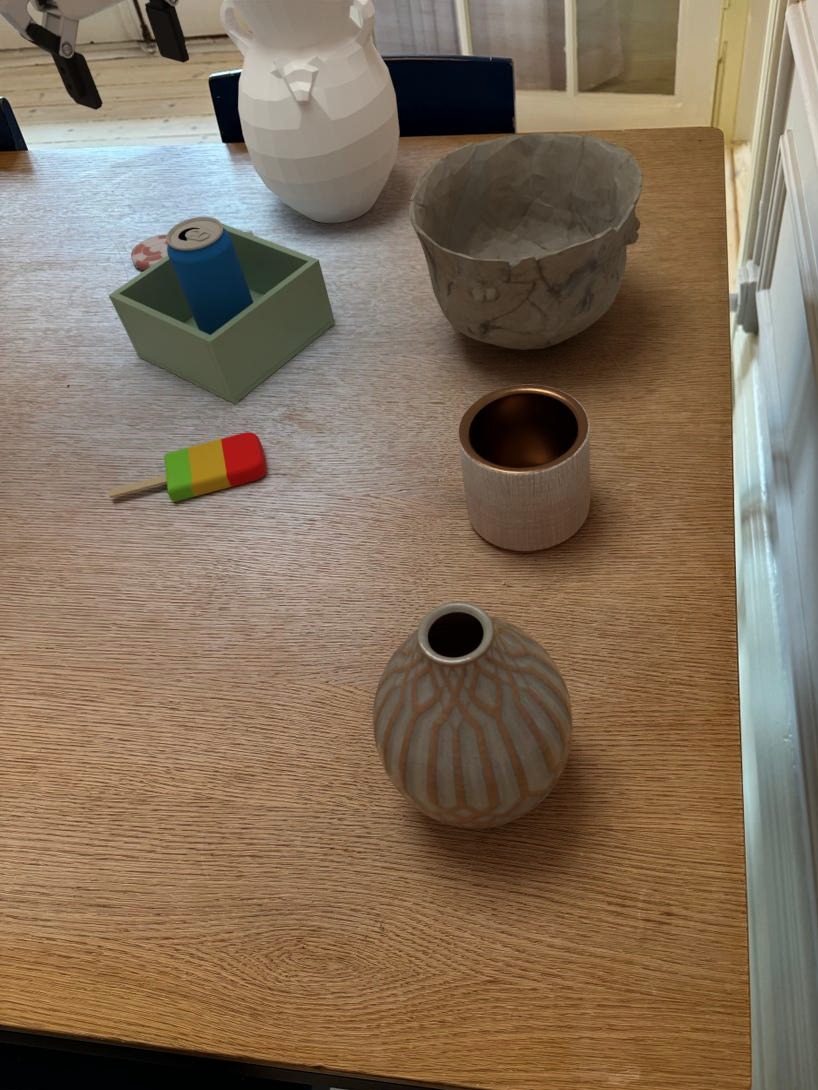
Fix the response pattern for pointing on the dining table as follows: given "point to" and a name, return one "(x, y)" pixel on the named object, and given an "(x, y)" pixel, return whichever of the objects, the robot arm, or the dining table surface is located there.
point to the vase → (472, 719)
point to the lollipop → (151, 251)
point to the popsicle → (206, 468)
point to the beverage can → (208, 272)
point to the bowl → (527, 234)
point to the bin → (246, 340)
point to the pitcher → (315, 103)
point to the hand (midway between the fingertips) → (133, 81)
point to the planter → (526, 466)
